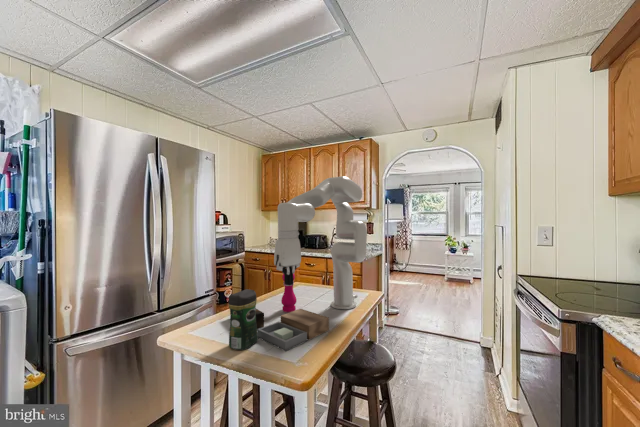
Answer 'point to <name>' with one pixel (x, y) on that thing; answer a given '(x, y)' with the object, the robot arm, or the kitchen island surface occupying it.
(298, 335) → the tray
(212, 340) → the kitchen island surface
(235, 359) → the kitchen island surface
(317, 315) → the board
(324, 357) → the kitchen island surface
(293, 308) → the pepper mill
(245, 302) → the coffee jar
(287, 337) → the tile
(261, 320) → the beverage carton
